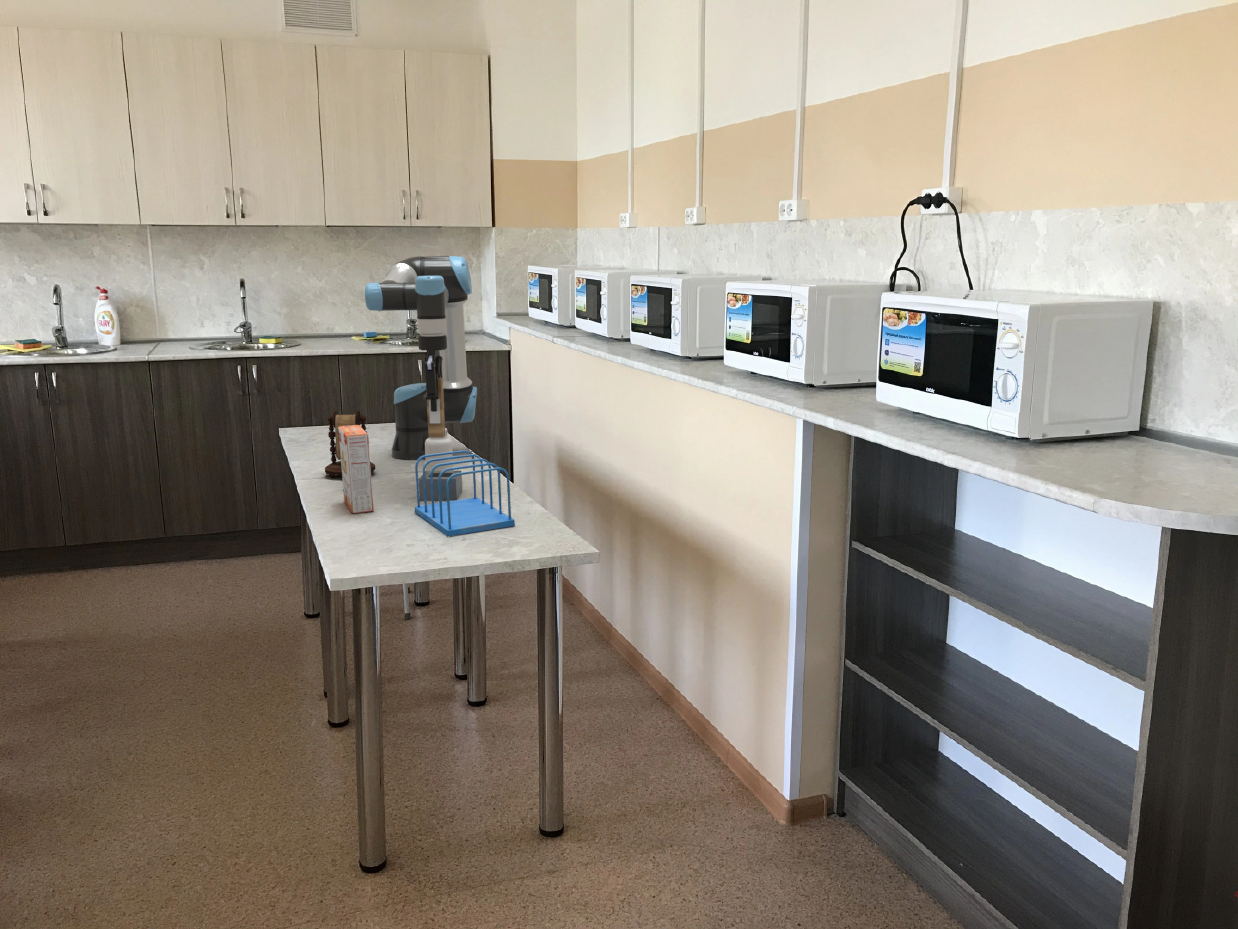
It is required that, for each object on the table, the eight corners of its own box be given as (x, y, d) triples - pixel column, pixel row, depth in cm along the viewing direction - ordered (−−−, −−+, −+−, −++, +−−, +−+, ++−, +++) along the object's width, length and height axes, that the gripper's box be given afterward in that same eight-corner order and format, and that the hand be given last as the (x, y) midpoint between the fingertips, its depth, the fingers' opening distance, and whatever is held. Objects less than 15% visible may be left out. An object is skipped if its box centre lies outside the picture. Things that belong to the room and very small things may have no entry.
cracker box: (342, 502, 266) (337, 425, 261) (365, 499, 268) (360, 424, 264) (350, 514, 253) (345, 434, 249) (374, 512, 256) (369, 432, 251)
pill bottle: (447, 482, 287) (445, 431, 284) (422, 481, 289) (419, 430, 286) (457, 476, 295) (455, 426, 292) (432, 475, 297) (429, 426, 293)
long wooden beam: (430, 435, 269) (427, 377, 266) (445, 435, 269) (442, 377, 266) (428, 437, 266) (425, 378, 263) (443, 437, 266) (440, 378, 263)
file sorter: (414, 513, 255) (411, 455, 251) (477, 504, 263) (475, 448, 260) (448, 537, 233) (445, 474, 230) (515, 527, 242) (513, 465, 238)
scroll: (319, 480, 290) (314, 413, 286) (332, 469, 305) (327, 405, 300) (369, 480, 291) (365, 413, 286) (380, 469, 305) (376, 405, 301)
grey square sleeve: (426, 491, 276) (425, 470, 275) (462, 491, 276) (461, 470, 275) (419, 500, 267) (418, 479, 265) (456, 500, 267) (455, 478, 265)
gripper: (424, 332, 270) (428, 417, 275) (411, 337, 254) (416, 427, 259) (451, 332, 270) (455, 416, 275) (441, 337, 254) (445, 427, 259)
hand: (436, 421), depth 267 cm, fingers closed on long wooden beam, 3 cm apart
